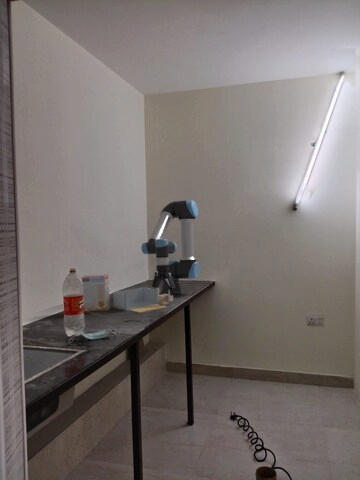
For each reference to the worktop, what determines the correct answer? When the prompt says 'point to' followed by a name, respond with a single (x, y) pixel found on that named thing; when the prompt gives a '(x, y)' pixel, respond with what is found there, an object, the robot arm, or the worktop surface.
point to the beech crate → (164, 299)
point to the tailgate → (147, 308)
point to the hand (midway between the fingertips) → (164, 299)
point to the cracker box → (96, 293)
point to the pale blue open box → (135, 298)
